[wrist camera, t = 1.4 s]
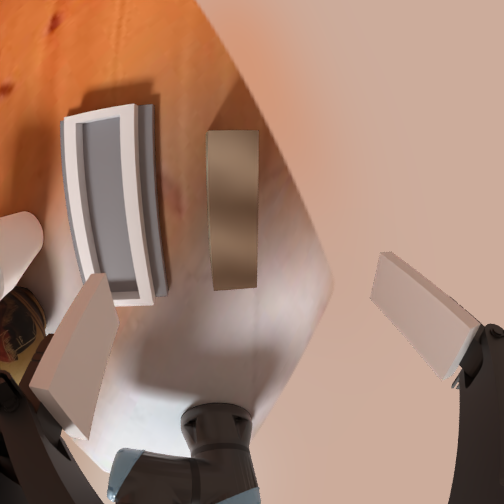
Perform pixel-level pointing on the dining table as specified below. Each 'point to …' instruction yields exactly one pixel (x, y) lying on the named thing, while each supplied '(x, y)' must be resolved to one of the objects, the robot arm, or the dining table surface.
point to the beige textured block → (232, 207)
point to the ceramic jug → (19, 330)
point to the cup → (17, 247)
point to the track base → (115, 200)
